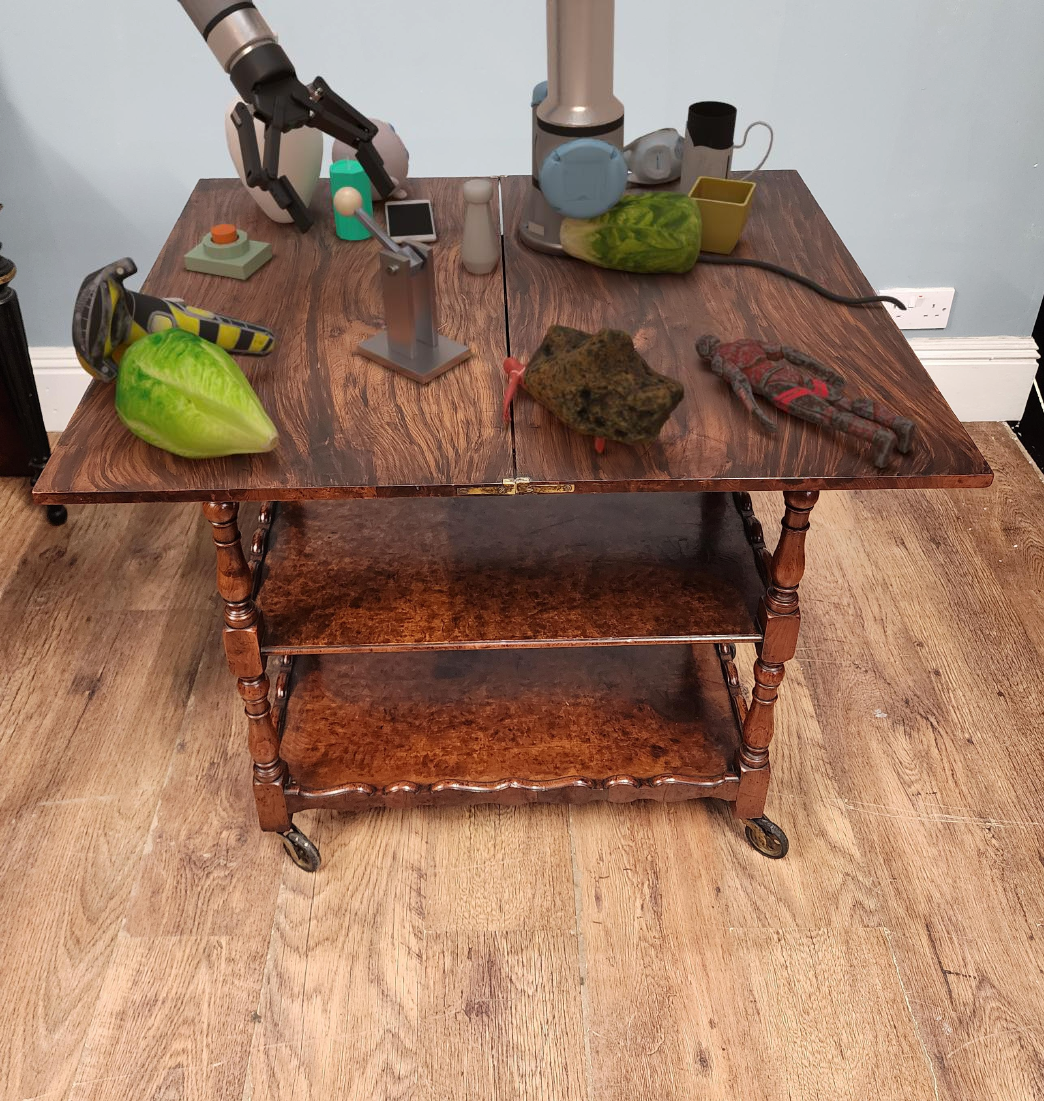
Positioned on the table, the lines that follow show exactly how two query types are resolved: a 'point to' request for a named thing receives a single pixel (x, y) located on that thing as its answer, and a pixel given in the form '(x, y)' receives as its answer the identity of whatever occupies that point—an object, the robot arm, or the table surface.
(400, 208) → the smartphone
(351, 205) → the lever
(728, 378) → the figurine
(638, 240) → the lettuce
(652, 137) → the white rounded ceramic body
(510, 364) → the figurine
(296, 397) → the table surface
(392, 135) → the toy
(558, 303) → the table surface
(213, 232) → the button
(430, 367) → the bracket
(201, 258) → the button block
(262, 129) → the vase
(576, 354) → the rock
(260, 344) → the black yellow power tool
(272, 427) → the lettuce
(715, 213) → the flower pot
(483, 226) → the salt shaker
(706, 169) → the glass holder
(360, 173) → the candle
